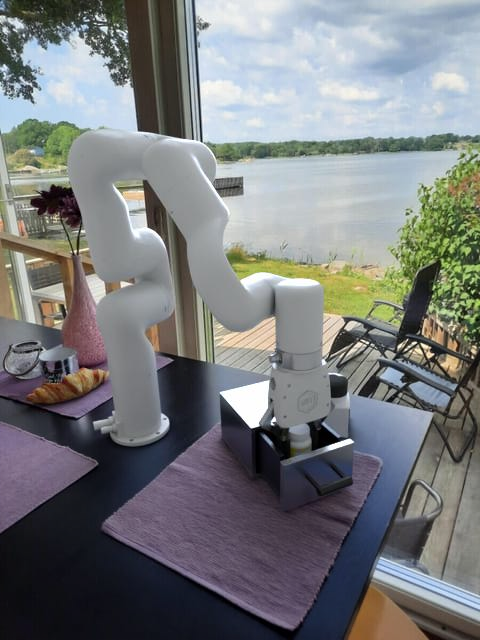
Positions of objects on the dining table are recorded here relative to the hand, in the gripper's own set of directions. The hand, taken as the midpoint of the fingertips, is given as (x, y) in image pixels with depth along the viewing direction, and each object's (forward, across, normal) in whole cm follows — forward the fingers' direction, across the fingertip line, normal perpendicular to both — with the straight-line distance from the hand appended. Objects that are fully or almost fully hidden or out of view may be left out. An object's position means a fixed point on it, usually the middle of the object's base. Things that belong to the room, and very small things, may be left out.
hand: (297, 450), depth 77 cm
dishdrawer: (+6, 0, +11) cm, 12 cm away
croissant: (+6, -34, +54) cm, 64 cm away
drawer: (+5, 0, -2) cm, 6 cm away
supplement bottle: (+4, 0, 0) cm, 4 cm away
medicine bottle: (+6, +15, +11) cm, 19 cm away
